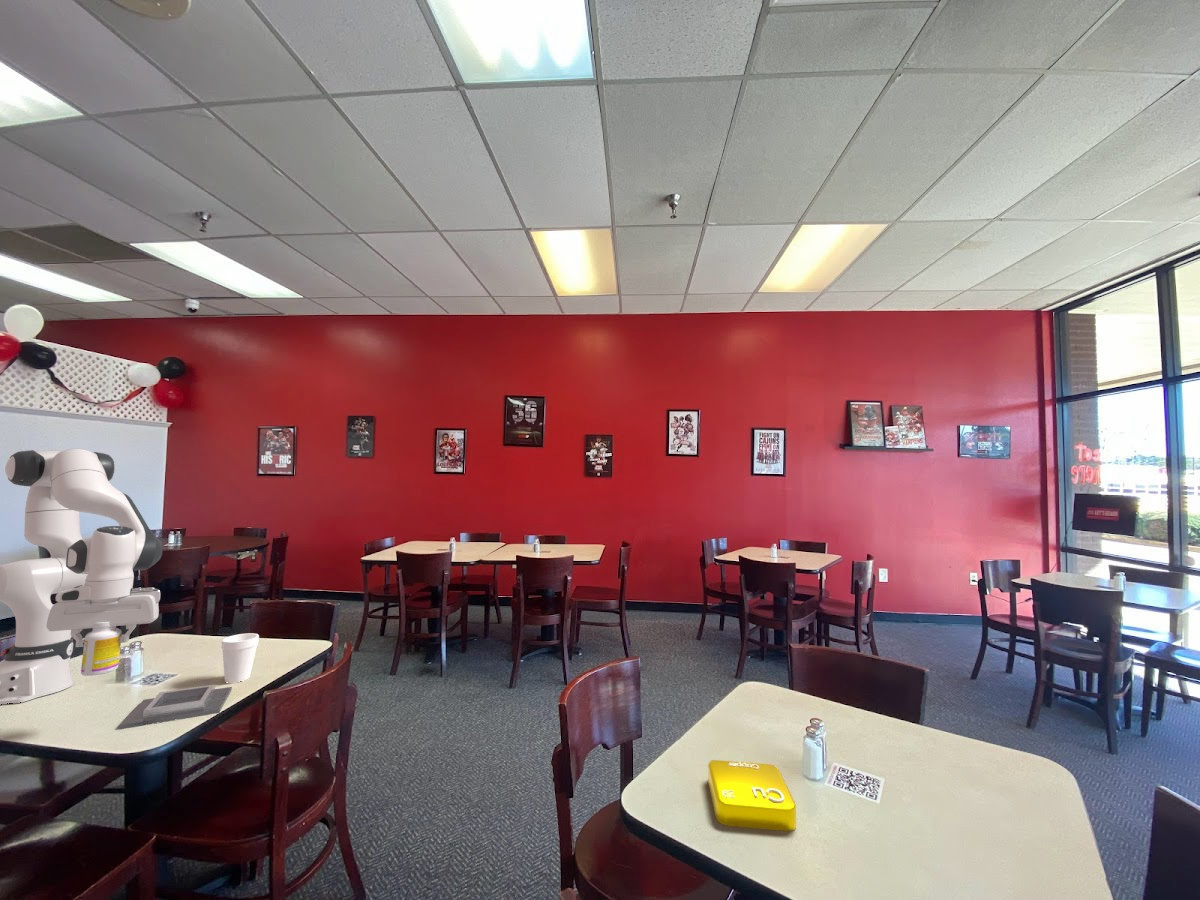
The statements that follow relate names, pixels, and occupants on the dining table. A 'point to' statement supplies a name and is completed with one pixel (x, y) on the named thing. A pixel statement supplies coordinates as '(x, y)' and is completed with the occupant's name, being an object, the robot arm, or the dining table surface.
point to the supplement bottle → (101, 650)
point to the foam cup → (239, 656)
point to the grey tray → (178, 705)
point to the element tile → (751, 795)
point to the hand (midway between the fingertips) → (102, 644)
